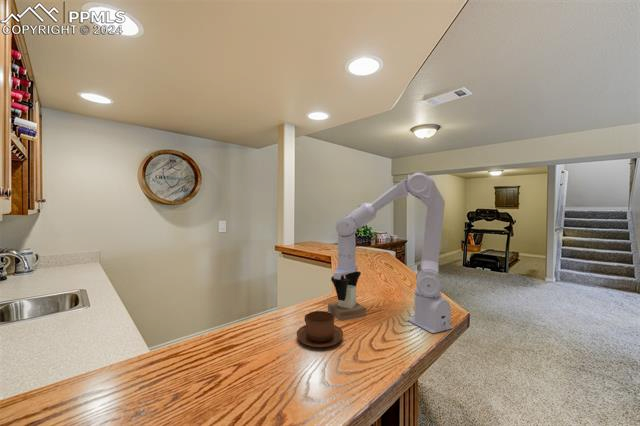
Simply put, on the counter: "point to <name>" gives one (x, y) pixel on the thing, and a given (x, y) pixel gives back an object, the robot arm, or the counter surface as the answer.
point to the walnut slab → (346, 311)
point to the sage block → (349, 298)
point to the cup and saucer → (319, 330)
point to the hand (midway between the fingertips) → (346, 296)
